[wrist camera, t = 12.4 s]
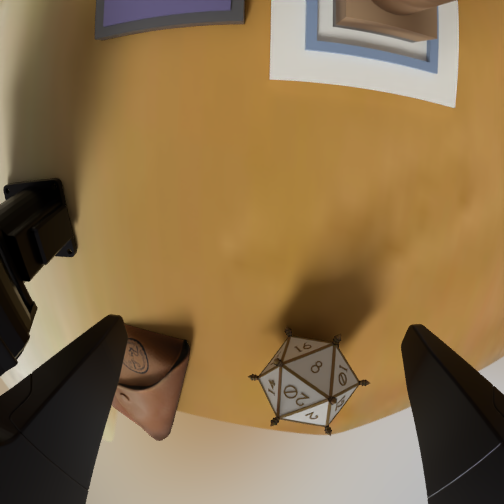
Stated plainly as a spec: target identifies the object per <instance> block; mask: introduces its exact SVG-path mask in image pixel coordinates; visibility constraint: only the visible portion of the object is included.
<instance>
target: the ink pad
mask: <svg viewBox="0 0 504 504" xmlns="http://www.w3.org/2000/svg"><path fill="white" fill-rule="evenodd" d="M225 24H245V0H96V16H95V40H106V39H111V38H116V37H121V36H126V35H131V34H137V33H143V32H149V31H156V30H163V29H171V28H180V27H191V26H204V25H225Z"/></svg>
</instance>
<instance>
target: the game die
mask: <svg viewBox="0 0 504 504" xmlns="http://www.w3.org/2000/svg"><path fill="white" fill-rule="evenodd" d="M285 333H286V335H287V336H288V338H287V339H286V341H285V342H284V343H283V345H282V346H281V347H280V349H279V350H278V351H277V353H276V354H275V355H274V357H273V358H272V359H271V361H270V362H269V363H268V365H267V366H266V367H265V368H264V370H263V371H262V372H261V374H260V375H259V376H257V375H254V374H252V375H250V376H248V377H249V378H250V379H251V380H259V382H260V384H261V386H262V388H263V390H264V393H265V395H266V397H267V399H268V401H269V403H270V405H271V407H272V409H273V411H274V413H275V415H276V417H275V418H273V420H271V426H273V425H277V423H279V420H286V421H291V422H297V423H303V424H309V425H315V426H322V427H325V431H326V433H327V434H329V435H330V436H331V431H332V430H331V427H329V424H330V423H331V422H332V420H333V419H334V418H335V416H336V415H337V414H338V413H339V411H340V410H341V409H342V407H343V406H344V405H345V403H346V402H347V401H348V399H349V398H350V397H351V395H352V394H353V393H354V391H355V390H356V388H357V387H358V386H359V385H362V386H363V385H365V386H366V385H368V384H370V382H368V381H367V380H366V379H365V380H362V381H359V380H358V378H357V376H356V375H355V373H354V372H353V370H352V368H351V367H350V365H349V364H348V362H347V360H346V359H345V357H344V356H343V354H342V352H341V351H340V349H339V344H338V343H339V341H341V334H340V335H337V336H334V337H335V338H334V339H333V342H329V341H322V340H316V339H309V338H303V337H297V336H292V332H291V329H289V328H288V327H286V329H285Z"/></svg>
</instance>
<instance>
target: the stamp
mask: <svg viewBox="0 0 504 504" xmlns="http://www.w3.org/2000/svg"><path fill="white" fill-rule="evenodd" d="M452 1H456V0H333V27H338V28H345V29H351V30H357V31H362V32H368V33H373V34H378V35H382V36H387V37H391V38H395V39H399V40H403V41H407V42H411V43H414V42H420V41H426V40H433V39H437V6H439V5H442V4H446V3H449V2H452Z"/></svg>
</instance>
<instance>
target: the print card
mask: <svg viewBox="0 0 504 504" xmlns="http://www.w3.org/2000/svg"><path fill="white" fill-rule="evenodd" d="M458 54H459V19H458V0H456V1H452V2H449V3H446V4H442V5H439V6H437V39H433V40H426V41H420V42H414V43H411V42H407V41H403V40H399V39H395V38H391V37H387V36H382V35H378V34H373V33H368V32H362V31H357V30H351V29H345V28H338V27H333V0H271V43H270V79H271V80H290V81H305V82H316V83H326V84H335V85H343V86H351V87H358V88H364V89H371V90H376V91H382V92H388V93H393V94H398V95H403V96H408V97H412V98H417V99H421V100H425V101H429V102H433V103H437V104H441V105H445V106H448V107H452V108H455V101H456V90H457V76H458Z"/></svg>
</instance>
